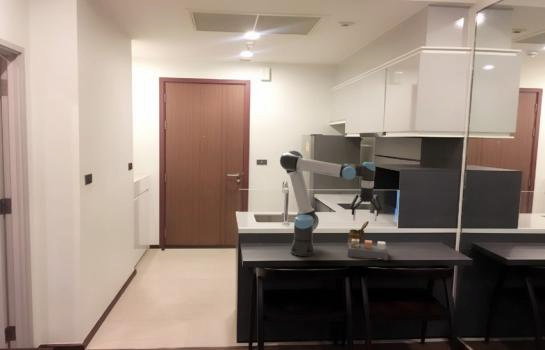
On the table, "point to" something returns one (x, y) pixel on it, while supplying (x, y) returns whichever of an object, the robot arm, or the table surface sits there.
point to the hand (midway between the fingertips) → (364, 220)
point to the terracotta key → (368, 244)
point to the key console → (367, 252)
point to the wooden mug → (357, 234)
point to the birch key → (355, 243)
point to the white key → (381, 245)
